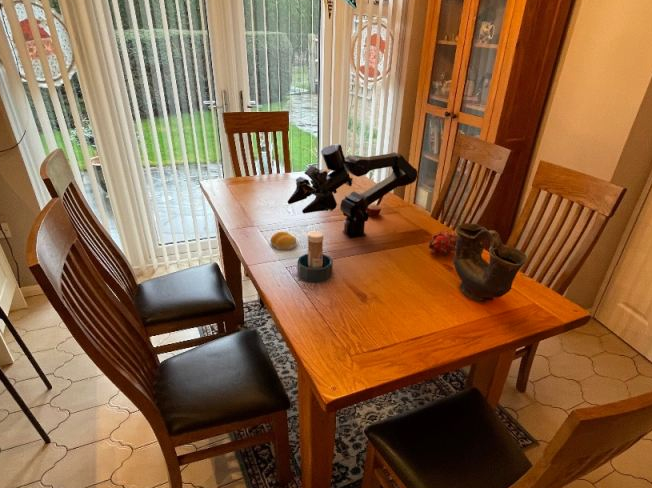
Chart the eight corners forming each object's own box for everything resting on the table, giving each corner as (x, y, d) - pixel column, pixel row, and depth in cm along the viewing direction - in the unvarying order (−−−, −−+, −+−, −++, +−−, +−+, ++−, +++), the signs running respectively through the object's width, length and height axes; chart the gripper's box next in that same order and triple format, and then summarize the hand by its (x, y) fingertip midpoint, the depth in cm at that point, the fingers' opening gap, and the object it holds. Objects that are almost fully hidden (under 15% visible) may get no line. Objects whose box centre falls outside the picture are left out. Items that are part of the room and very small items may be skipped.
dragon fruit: (457, 254, 150) (429, 265, 146) (446, 234, 152) (418, 244, 148) (468, 243, 142) (439, 254, 138) (456, 222, 144) (427, 232, 140)
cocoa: (362, 211, 176) (363, 183, 169) (376, 210, 177) (378, 182, 171) (370, 220, 168) (372, 191, 162) (384, 219, 170) (387, 190, 164)
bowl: (324, 263, 136) (324, 251, 133) (337, 279, 128) (338, 266, 126) (293, 268, 132) (293, 256, 129) (304, 285, 124) (304, 271, 122)
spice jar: (319, 278, 127) (319, 238, 120) (305, 275, 128) (305, 235, 121) (324, 271, 131) (325, 232, 124) (311, 269, 132) (311, 229, 125)
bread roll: (281, 252, 141) (280, 241, 139) (267, 242, 146) (266, 232, 144) (302, 246, 146) (301, 235, 143) (287, 237, 151) (287, 226, 149)
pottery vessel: (438, 274, 133) (448, 215, 123) (466, 269, 137) (479, 211, 127) (488, 319, 114) (506, 253, 104) (520, 311, 118) (540, 247, 107)
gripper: (309, 153, 140) (271, 178, 136) (341, 167, 128) (300, 195, 124) (320, 181, 148) (284, 205, 144) (352, 197, 136) (314, 225, 131)
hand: (295, 207), depth 136 cm, fingers open, 9 cm apart
